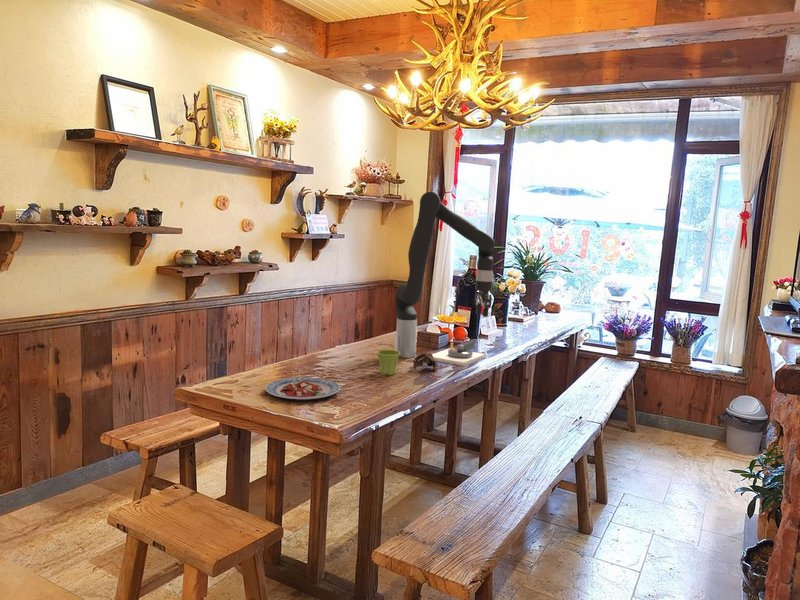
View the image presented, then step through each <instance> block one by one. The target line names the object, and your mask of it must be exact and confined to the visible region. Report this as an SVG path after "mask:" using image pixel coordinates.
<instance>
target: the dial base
mask: <svg viewBox="0 0 800 600" xmlns="http://www.w3.org/2000/svg"><path fill="white" fill-rule="evenodd" d="M451 349H454V343H453V342H450V347H448V348H446V349H444V350H441V351H438V352H435V353H432V356H433V358H434V360H435V362H440V363H445V364H451V365H457V366H461V367H465V366H467V365H470V364H472V363H475V362H477V361H480V360H482V359H484V358H486V353H482V352H475V351H472V352H473V353H472V357H468V358H458V357H452V356H449V355H448V351H449V350H451Z"/></svg>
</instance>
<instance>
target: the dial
mask: <svg viewBox="0 0 800 600" xmlns="http://www.w3.org/2000/svg"><path fill="white" fill-rule="evenodd" d="M472 349H475V341H473V340H470V341H467V342H464V343H461V344H457V347H456V348H453V349H451V350H449V351H448V355H449V356H452V357H458V358H468V357H472V353H473V352H474V351H471V350H472Z"/></svg>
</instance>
